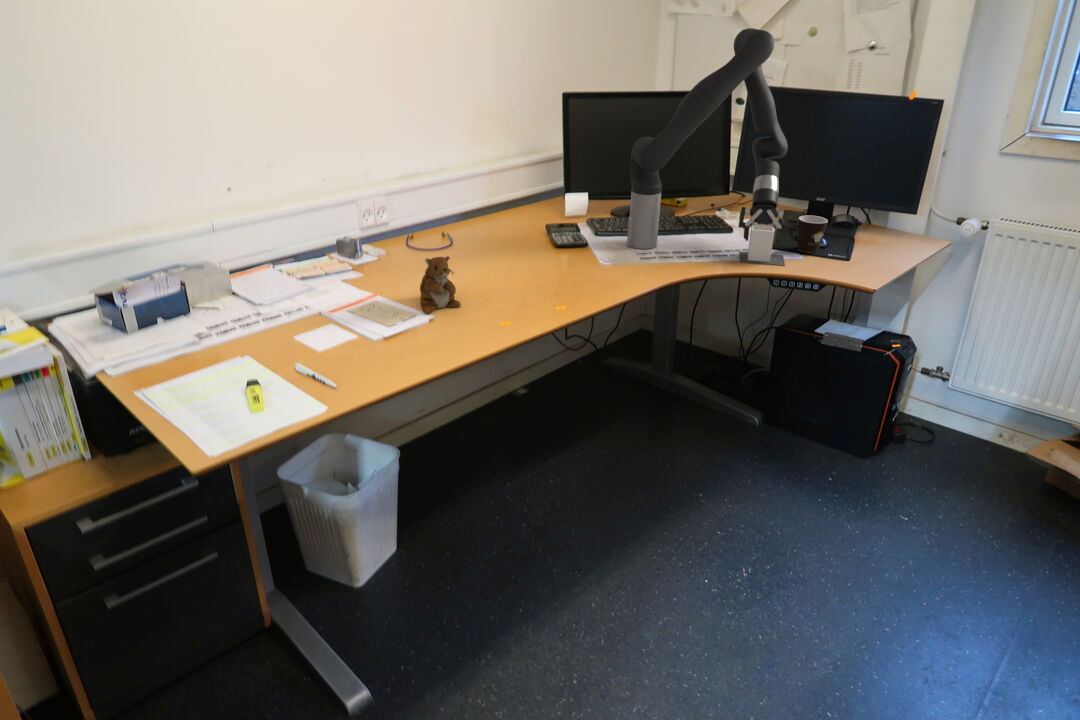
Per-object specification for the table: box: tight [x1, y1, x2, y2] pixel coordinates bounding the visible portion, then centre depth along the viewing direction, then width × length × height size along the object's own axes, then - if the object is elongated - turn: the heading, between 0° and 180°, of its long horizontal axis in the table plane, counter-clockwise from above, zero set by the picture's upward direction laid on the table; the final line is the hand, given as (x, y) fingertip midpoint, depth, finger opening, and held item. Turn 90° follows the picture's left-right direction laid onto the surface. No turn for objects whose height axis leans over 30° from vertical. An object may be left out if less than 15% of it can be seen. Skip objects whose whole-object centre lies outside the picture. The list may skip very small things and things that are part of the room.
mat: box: [739, 250, 786, 267], centre depth 227 cm, size 13×10×1 cm
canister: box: [747, 223, 776, 262], centre depth 226 cm, size 6×6×10 cm
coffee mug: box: [789, 214, 829, 252], centre depth 233 cm, size 12×9×10 cm
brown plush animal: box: [419, 255, 462, 315], centre depth 191 cm, size 10×14×13 cm
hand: (761, 240), depth 224 cm, fingers open, 8 cm apart
